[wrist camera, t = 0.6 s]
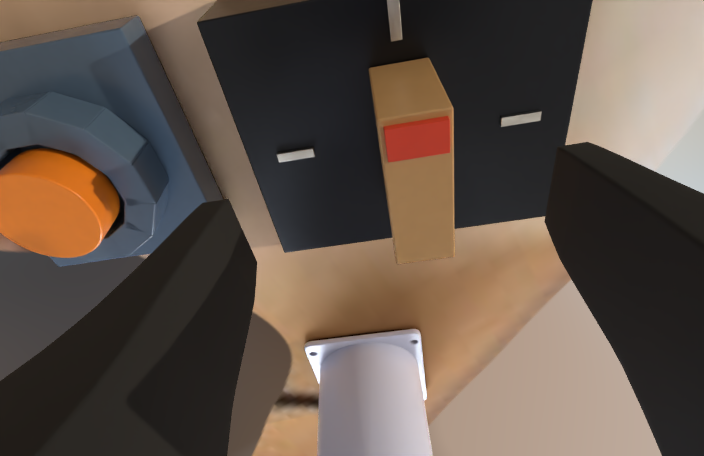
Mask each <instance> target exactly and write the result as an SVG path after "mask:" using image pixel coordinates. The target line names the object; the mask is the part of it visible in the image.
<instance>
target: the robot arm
mask: <svg viewBox="0 0 704 456" xmlns="http://www.w3.org/2000/svg"><path fill="white" fill-rule="evenodd" d="M545 223H546V226H547V229H548V231H549V234H550V236H551V239H552V241H553V244H554V246H555V248H556V251H557V253H558V255H559V258H560V260H561V262H562V263H563V265H564V267H565V269H566V270H567V272H568V274H569V276H570V277H571V279H572V281H573V282H574V284H575V286H576V288H577V289H578V291H579V293H580V294H581V296H582V297H583V299H584V301H585V303H586V304H587V306H588V308H589V309H590V311H591V313H592V314H593V316H594V318H595V319H596V321H597V323H598V324H599V326H600V328H601V329H602V331H603V333H604V334H605V336H606V338H607V339H608V341H609V343H610V344H611V346H612V348H613V350H614V352H615V354H616V355H617V357H618V359H619V361H620V363H621V364H622V366H623V368H624V371H625V373H626V375H627V377H628V380H629V382H630V384H631V386H632V388H633V390H634V393H635V395H636V397H637V399H638V401H639V403H640V406H641V408H642V410H643V412H644V414H645V417H646V419H647V421H648V424H649V426H650V428H651V431H652V433H653V435H654V438H655V440H656V442H657V445H658V447H659V449H660V452H661V454H662V456H704V194H703V193H701V192H699V191H696V190H694V189H692V188H690V187H687V186H685V185H683V184H681V183H678V182H676V181H674V180H672V179H670V178H667V177H665V176H663V175H661V174H659V173H657V172H654V171H652V170H650V169H648V168H646V167H644V166H642V165H639V164H637V163H635V162H633V161H631V160H629V159H627V158H624V157H622V156H620V155H618V154H616V153H613V152H611V151H609V150H607V149H604V148H602V147H599V146H597V145H594V144H592V143H589V142H585V143H579V144H572V145H566V146H560V147H557V152H556V158H555V164H554V169H553V175H552V181H551V187H550V193H549V199H548V204H547V210H546V216H545ZM256 272H257V261H256V259H255V256H254V254H253V252H252V250H251V248H250V246H249V243H248V241H247V239H246V237H245V235H244V232H243V230H242V228H241V226H240V224H239V221H238V219H237V217H236V215H235V213H234V210H233V208H232V206H231V204H230V202H229V199H223V200H217V201H211V202H204V203H202V204H201V205H199V206H198V207H197V208H196V209H195V210H194V211H193V212H192V213H191V214H190V215H189V216H188V217H187V218H186V219H185V220H184V221H183V222H182V223H181V224H180V225H179V226H178V227H177V228H176V229H175V230H174V231H173V232H172V233H171V234H170V235H169V236H168V237H167V238H166V239H165V240H164V241H163V242H162V243H161V244H160V245H159V246H158V247H157V248H156V249H155V250H154V251H153V252H152V253H151V254H150V255H149V256H148V257H147V258H146V259H145V260H144V261H143V262H142V264H141V265H139V266H138V267H137V268H136V269H135V270H134V271H133V272H132V273H131V274H130V275H129V276H128V277H127V278H126V279H125V280H124V281H123V282H122V283H120V284H119V286H117V287H116V288H115V289H114V290H113V291H112V292H111V293H110V294H109V295H108V296H107V297H106V298H104V299H103V300H102V301H101V302H100V303H99V304H98V305H97V306H96V307H95V308H93V309H92V310H91V311H90V312H89V313H88V314H87V315H85V316H84V317H83V318H82V319H81V320H80V321H78V322H77V323H76V324H75V325H74V326H72V327H71V328H70V329H69V330H68V331H66V332H65V333H64V334H63V335H61V336H60V337H59V338H58V339H56V340H55V341H54V342H53V343H51V344H50V345H49V346H47V347H46V348H45V349H44V350H42V351H41V352H40V353H39V354H37V355H36V356H34V357H33V358H32V359H30V360H29V361H27V362H26V363H25V364H24V365H22V366H21V367H19V368H18V369H17V370H15V371H14V372H12V373H11V374H9V375H8V376H7V377H5V378H4V379H3V380H1V381H0V456H227V451H228V442H229V432H230V423H231V414H232V407H233V401H234V395H235V389H236V384H237V380H238V375H239V371H240V366H241V361H242V357H243V352H244V348H245V343H246V338H247V334H248V329H249V324H250V320H251V315H252V310H253V305H254V299H255V287H256ZM305 352H306V354H307V357H308V359H309V361H310V364H311V366H312V368H313V371H314V373H315V375H316V378H317V380H318V382H319V412H318V441H317V456H433V453H432V447H431V441H430V435H429V429H428V422H427V416H426V410H425V404H424V400H425V399H426V398H427V393H426V383H425V373H424V363H423V353H422V343H421V334H420V331H419V330H417V329H407V330H399V331H391V332H383V333H374V334H366V335H358V336H349V337H341V338H333V339H324V340H316V341H309V342H307V343H306V344H305Z"/></svg>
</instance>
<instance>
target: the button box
mask: <svg viewBox="0 0 704 456" xmlns="http://www.w3.org/2000/svg"><path fill="white" fill-rule="evenodd" d="M38 148H48V149H56V150H61V151H64V152H68V153H71V154H73V155H76V156H78V157H80V158H82V159H83V160H85V161H86V162H88V163H89V164H91V165H92V166H93V167H95V168H96V169H98V170H99V171H101V172H102V173H103V174H104V175H105V176H106V177H107V178H108V179H109V180H110V181H111V183H112V184H113V186H114V187H115V189H116V191H117V194H118V197H119V201H120V210H119V214H118V216H117V218H116V219H115V221H114V223H113V224H112V226H111V227H110V229H109V230H108V232H107V234H106V235H105V237H104V238H103V240H102V241H101V243H100V245H99V246H98V247H97V248H96V249H95V250H93V251H92V252H90V253H88V254H86V255H83V256H79V257H72V258H60V257H52V256H49V257H50V258H51V259H52V260H53V261H54V263H55V264H56V265H57V266H59V267H61V266H68V265H75V264H82V263H89V262H96V261H102V260H110V259H117V258H123V257H130V256H137V255H144V254H151V253H152V252H153V251H154V250H155V249H156V248H157V247H158V246H159V245H160V244H161V243H162V242H163V241H164V240H165V239H166V238H167V237H168V236H169V235H170V234H171V233H172V232H173V231H174V230H175V229H176V228H177V227H178V226H179V225H180V224H181V223H182V222H183V221H184V220H185V219H186V218H187V217H188V216H189V215H190V214H191V213H192V212H193V211H194V210H195V209H196V208H197V207H198V206H199V205H201V204H202V203H204V202H211V201H217V200H223V197H222V195H221V193H220V191H219V188H218V186H217V184H216V182H215V180H214V178H213V175H212V173H211V171H210V169H209V167H208V165H207V163H206V160H205V158H204V156H203V154H202V152H201V150H200V147H199V145H198V143H197V141H196V139H195V137H194V134H193V132H192V130H191V128H190V126H189V124H188V121H187V119H186V117H185V115H184V113H183V111H182V108H181V106H180V104H179V102H178V100H177V98H176V95H175V93H174V91H173V89H172V87H171V85H170V82H169V80H168V78H167V76H166V74H165V72H164V69H163V67H162V65H161V63H160V61H159V59H158V56H157V54H156V52H155V50H154V48H153V46H152V43H151V41H150V39H149V37H148V35H147V33H146V30H145V28H144V26H143V24H142V22H141V20H140V17H139V16H137V15H136V16H131V17H126V18H121V19H116V20H111V21H106V22H101V23H96V24H91V25H86V26H81V27H76V28H71V29H66V30H61V31H56V32H51V33H46V34H41V35H36V36H31V37H25V38H20V39H15V40H10V41H5V42H0V170H1V169H2V168H3V167H4V166H5V165H6V164H7V163H9V162H10V161H11V160H12V159H13V158H14V157H15V156H17V155H18V154H20V153H22V152H24V151H27V150H31V149H38Z"/></svg>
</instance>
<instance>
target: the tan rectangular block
mask: <svg viewBox="0 0 704 456" xmlns="http://www.w3.org/2000/svg"><path fill="white" fill-rule="evenodd" d="M369 76H370V83H371V90H372V97H373V104H374V112H375V119H376V126H377V133H378V140H379V147H380V154H381V162H382V169H383V176H384V183H385V190H386V197H387V204H388V211H389V218H390V224H391V231H392V238H393V244H394V251H395V258H396V263H397V264H405V263H412V262H419V261H427V260H434V259H442V258H449V257H454V255H455V244H454V108H453V106H452V104H451V102H450V100H449V98H448V96H447V94H446V92H445V90H444V88H443V86H442V84H441V82H440V80H439V77H438V75H437V73H436V71H435V69H434V67H433V65H432V63H431V61H430V59H429V58H422V59H417V60H411V61H405V62H400V63H394V64H389V65H383V66H377V67H372V68H369Z"/></svg>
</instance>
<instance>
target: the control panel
mask: <svg viewBox="0 0 704 456" xmlns="http://www.w3.org/2000/svg"><path fill="white" fill-rule="evenodd" d="M592 1H593V0H217V1H216V2H215V3H214V4H213V6H212V7H211V8H210V9H209V10H208V11H207V12H206V13H205V14H204V15H203V16H202V17H201V19H200V20H199V21H198V22H197V25H198V27H199V30H200V32H201V35H202V38H203V40H204V43H205V46H206V48H207V51H208V53H209V56H210V59H211V61H212V64H213V67H214V69H215V72H216V74H217V77H218V80H219V82H220V85H221V87H222V90H223V93H224V95H225V98H226V101H227V103H228V106H229V108H230V111H231V114H232V116H233V119H234V122H235V124H236V127H237V129H238V132H239V135H240V137H241V140H242V142H243V145H244V148H245V150H246V153H247V156H248V158H249V161H250V163H251V166H252V169H253V171H254V174H255V177H256V179H257V182H258V184H259V187H260V190H261V192H262V195H263V197H264V200H265V203H266V205H267V208H268V211H269V213H270V216H271V218H272V221H273V224H274V226H275V229H276V232H277V234H278V237H279V239H280V242H281V245H282V247H283V250H284V252H285V253H286V252H293V251H300V250H307V249H314V248H321V247H328V246H336V245H343V244H350V243H357V242H364V241H371V240H378V239H385V238H392V231H391V224H390V218H389V211H388V204H387V197H386V190H385V183H384V176H383V169H382V162H381V154H380V147H379V140H378V133H377V126H376V119H375V112H374V104H373V97H372V90H371V83H370V76H369V68H372V67H377V66H383V65H389V64H394V63H400V62H405V61H411V60H417V59H422V58H429V59H430V61H431V63H432V65H433V67H434V69H435V71H436V73H437V75H438V77H439V80H440V82H441V84H442V86H443V88H444V90H445V92H446V94H447V96H448V98H449V100H450V102H451V104H452V106H453V108H454V229H457V228H464V227H471V226H478V225H485V224H492V223H499V222H507V221H514V220H521V219H528V218H535V217H542V216H546V210H547V204H548V199H549V193H550V187H551V181H552V175H553V169H554V164H555V158H556V152H557V147H560V146H565V142H566V137H567V132H568V126H569V121H570V116H571V111H572V105H573V100H574V95H575V90H576V84H577V79H578V74H579V69H580V63H581V58H582V53H583V48H584V42H585V37H586V32H587V27H588V22H589V16H590V11H591V6H592Z"/></svg>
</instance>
